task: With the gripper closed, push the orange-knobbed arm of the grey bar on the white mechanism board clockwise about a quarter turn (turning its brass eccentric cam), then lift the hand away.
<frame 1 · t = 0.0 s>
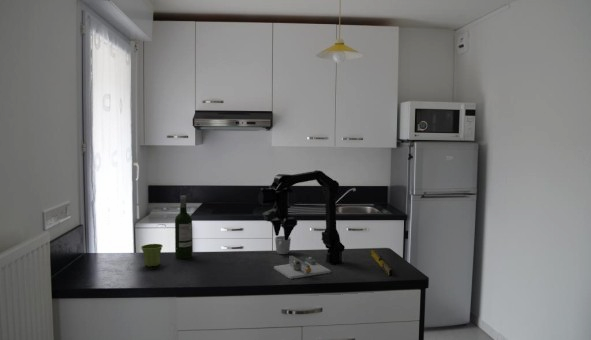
hand: (281, 237, 187), 15 cm above the counter, fingers open, 9 cm apart
spirit level: (380, 265, 200), on the counter
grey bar: (299, 265, 186), point 3 cm above the counter, hinge at 0.0°
white mechanism board: (301, 270, 189), on the counter
plant pot: (152, 265, 194), on the counter
cup: (282, 254, 215), on the counter
wine bottle: (183, 257, 208), on the counter
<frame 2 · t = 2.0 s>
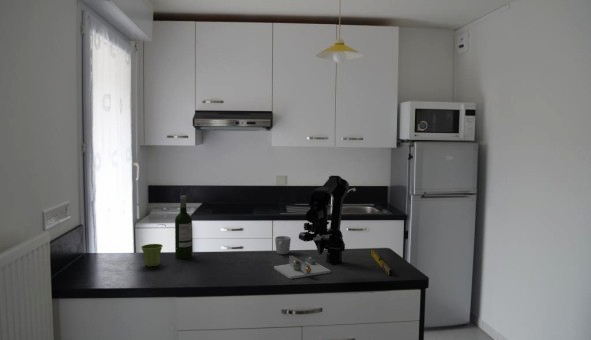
hand: (320, 254, 183), 9 cm above the counter, fingers closed
nothing on the counter moved.
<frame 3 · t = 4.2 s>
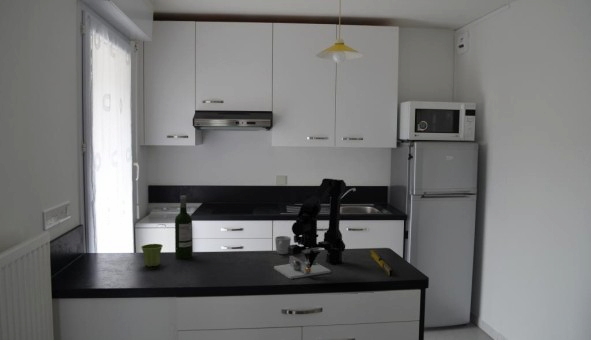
hand: (309, 267, 181), 4 cm above the counter, fingers closed
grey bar: (299, 265, 186), point 3 cm above the counter, hinge at -0.8°, touching gripper
everything else where it was.
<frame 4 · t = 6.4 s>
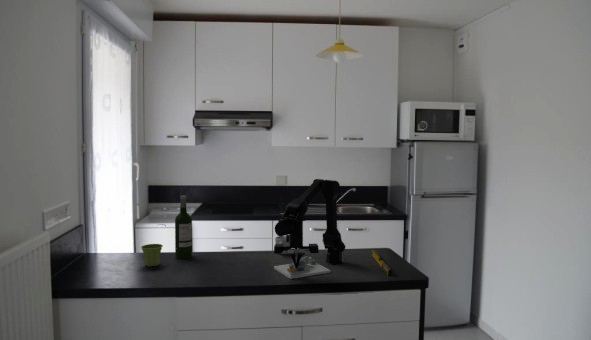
hand: (296, 268, 180), 4 cm above the counter, fingers closed
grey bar: (298, 265, 186), point 3 cm above the counter, hinge at -56.0°, touching gripper
everything else where it was.
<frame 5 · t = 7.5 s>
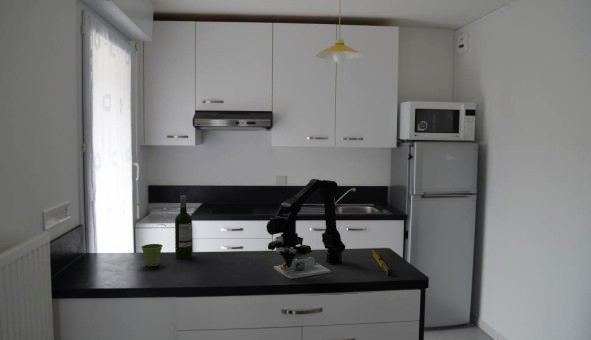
hand: (289, 267, 181), 4 cm above the counter, fingers closed
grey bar: (297, 264, 186), point 3 cm above the counter, hinge at -83.2°, touching gripper
everything else where it was.
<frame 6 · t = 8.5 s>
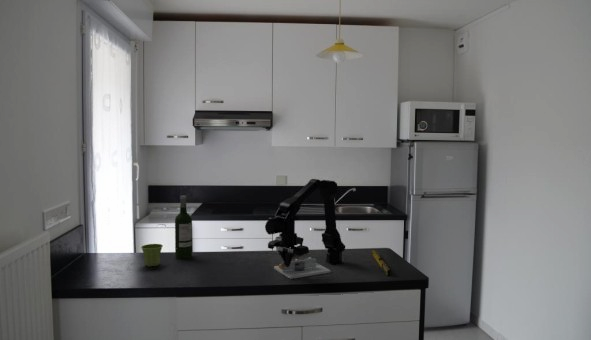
hand: (287, 266, 182), 4 cm above the counter, fingers closed
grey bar: (297, 264, 186), point 3 cm above the counter, hinge at -94.6°
everything else where it was.
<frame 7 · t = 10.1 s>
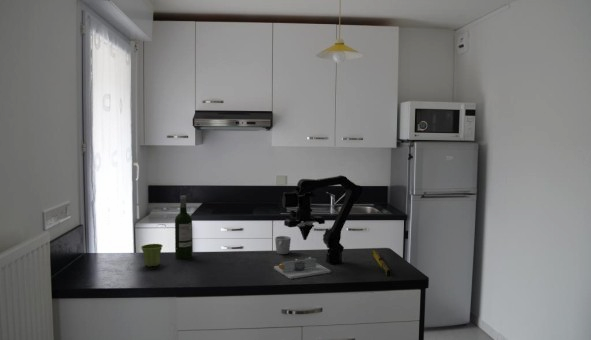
hand: (304, 239, 196), 12 cm above the counter, fingers closed
nothing on the counter moved.
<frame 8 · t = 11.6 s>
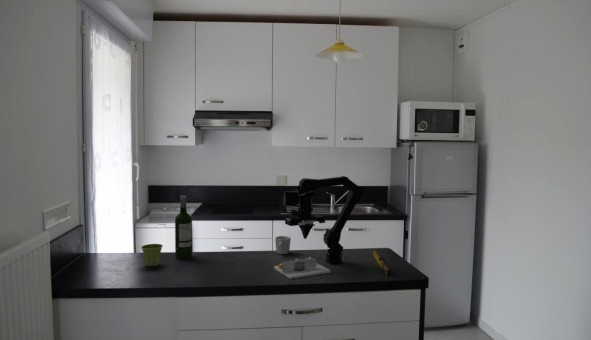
hand: (305, 238, 198), 12 cm above the counter, fingers closed
nothing on the counter moved.
at the end: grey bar at -95° (first picture: +0°) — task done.
